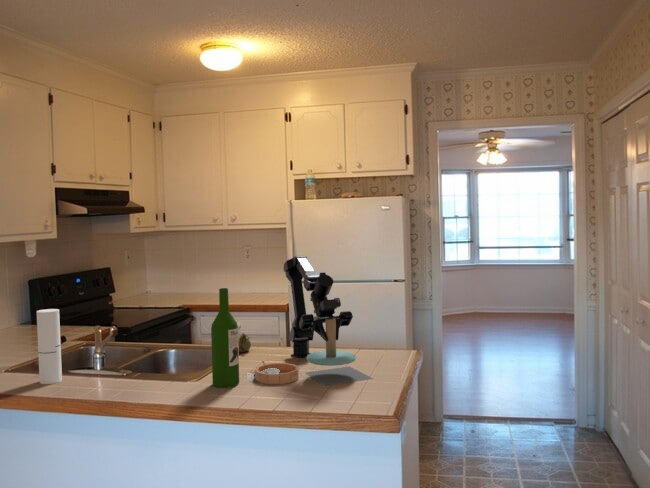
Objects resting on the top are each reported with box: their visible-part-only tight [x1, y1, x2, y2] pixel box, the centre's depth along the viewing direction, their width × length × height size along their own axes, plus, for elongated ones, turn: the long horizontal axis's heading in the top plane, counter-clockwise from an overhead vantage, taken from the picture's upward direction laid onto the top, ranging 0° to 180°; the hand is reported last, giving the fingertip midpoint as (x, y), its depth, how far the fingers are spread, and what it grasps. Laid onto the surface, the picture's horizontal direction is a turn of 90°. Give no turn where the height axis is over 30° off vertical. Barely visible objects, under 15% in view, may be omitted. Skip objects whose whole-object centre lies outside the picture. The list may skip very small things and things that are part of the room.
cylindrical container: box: [36, 308, 63, 385], centre depth 206 cm, size 7×7×25 cm
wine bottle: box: [210, 287, 240, 389], centre depth 199 cm, size 9×9×32 cm
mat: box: [305, 366, 374, 387], centre depth 207 cm, size 18×18×1 cm
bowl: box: [254, 362, 300, 385], centre depth 205 cm, size 15×15×4 cm
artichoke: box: [238, 332, 252, 353], centre depth 247 cm, size 8×8×8 cm
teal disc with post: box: [306, 319, 357, 367], centre depth 205 cm, size 17×17×14 cm
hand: (332, 340), depth 204 cm, fingers closed on teal disc with post, 4 cm apart
